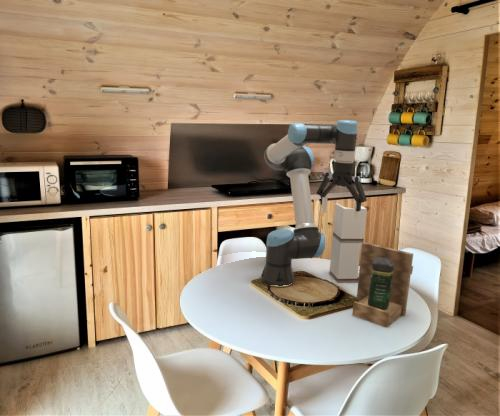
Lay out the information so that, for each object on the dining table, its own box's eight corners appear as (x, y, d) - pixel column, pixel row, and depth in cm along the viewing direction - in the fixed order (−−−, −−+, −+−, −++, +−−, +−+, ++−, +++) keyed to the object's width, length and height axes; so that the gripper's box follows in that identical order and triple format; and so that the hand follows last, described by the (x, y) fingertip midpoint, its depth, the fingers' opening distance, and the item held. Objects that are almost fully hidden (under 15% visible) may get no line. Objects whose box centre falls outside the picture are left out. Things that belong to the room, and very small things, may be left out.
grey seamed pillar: (359, 282, 203) (366, 208, 196) (337, 283, 201) (343, 208, 194) (350, 273, 214) (357, 203, 207) (329, 274, 212) (335, 203, 205)
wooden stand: (340, 311, 173) (346, 250, 167) (360, 298, 186) (366, 241, 180) (389, 328, 160) (397, 263, 155) (407, 313, 173) (414, 252, 168)
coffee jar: (388, 312, 164) (394, 264, 160) (366, 308, 167) (371, 261, 163) (389, 302, 173) (394, 257, 169) (368, 298, 176) (373, 254, 172)
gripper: (310, 158, 171) (306, 211, 176) (370, 166, 156) (364, 223, 160) (320, 157, 177) (316, 209, 181) (379, 164, 162) (373, 220, 166)
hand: (339, 216), depth 171 cm, fingers open, 13 cm apart
